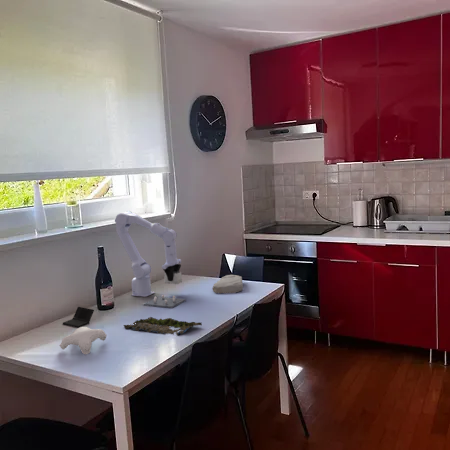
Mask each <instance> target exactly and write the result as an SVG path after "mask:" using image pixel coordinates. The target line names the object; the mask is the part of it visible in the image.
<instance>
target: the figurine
mask: <svg viewBox="0 0 450 450" xmlns="http://www.w3.org/2000/svg"><path fill="white" fill-rule="evenodd" d="M98 339H99V340H101V341H103V342H104V341H105V340H106V339H107V334H106V333H105V331H104V330H103V329H101V328H99V329H96V328H94V329H93V328H90V327H87V326H82V327H79V328H76V329H75V330H74V331H73V332H72V333H70V334H69V335H66V336H64V337H63V338H62V340H61V342H60V343H59V347H60V349H61V350H65V349H67V347H69V346H71V345H74V346H78V347H79V349H80V351H81V352H82V354H84V355H85V356H86V355H89V354H90V353H91V349H92V345H93V342H95V341H96V340H98Z"/></svg>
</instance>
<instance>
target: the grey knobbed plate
mask: <svg viewBox="0 0 450 450" xmlns="http://www.w3.org/2000/svg"><path fill="white" fill-rule="evenodd" d="M186 300H187V299H185V298H176V295H172V297H165V294H162V295H161V296H158V297H157V296H156V295H155V296H154V297H153V299H151V300H149V301H147V302H144V303H143V306H145V307H147V306H148V307H154V308H155V307H156V308H164V309H173V308H175V307H177V306H179V305H181V304H182V303H185V302H187V301H186ZM184 301H185V302H184Z"/></svg>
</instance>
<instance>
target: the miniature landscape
mask: <svg viewBox="0 0 450 450" xmlns="http://www.w3.org/2000/svg"><path fill="white" fill-rule="evenodd" d="M132 323H133V324H134V325H133V324H130V325H129V324H123V327H124V328H125V330H128V329H131V330H133V331H136V332H137V331H138V332H139V331H141V330H143V332H144V333H146V332H147V333H151V332H153V333H155V332H156V334H163V335H169V334H170V335H172V336H174V335H176V337H177V336H179V334H180V335H182V334H184V333H185V332H187V330H190V329H191V328H192V327H195V326H197V327H198V326H200V327H201V326H202V323H203V322H196V321H191V322H188V321H184V320H181V321H179V320H176V319H173V318H172V317H169V318H168V317H167V318H165V319H164V318H163V319H162V318H159V319H158V318H155V317H152V316H150V317H147V318H145V319H142V318H140V319H137V320H135V321H134V322H132ZM135 323H136V324H135ZM173 327H174V329H171V328H173Z"/></svg>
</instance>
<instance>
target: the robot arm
mask: <svg viewBox="0 0 450 450" xmlns="http://www.w3.org/2000/svg"><path fill="white" fill-rule="evenodd" d="M114 223H115V229H116V230H115V231H116V234H117V237H118V238H119V240H120V242H121V244H122V245H123V248H124V249H125V251H126V253H127V255H128V257H129V259H130V261H131V269H132V273H133V276H134V277H133V278H132V279H131V292H132V294H131V296H134V297H145V298H146V297H148V296H150V295H153V294H155V293H156V292H155V291H152V286H151V285H152V283H151V275H150V274H151V273H152V267H151V265H150V264H149V263H147V261H146V259H144V258H142V255H141V254H140V252H139V249H138V248H137V246H136V244H135V242H134V240H133V238H132V237H131V234H130V233H129V229H130V227H131V225H133V224H137V225H138V226H141V227H143V228H146V229H148V230H149V232H150V233H151V234H153V235H154V236H157V237H158V238H160V239H161V240H162V241H163V243H164V254H165V263H164V264H161V270H163V271H164V272H165V273H166V275H167V278H168V281H173V271H178V272H180V269H181V267H182V265H181V264H182V259H181V258H178V253H177V251H178V250H177V244H176V239H177V237H178V234H177V231H176V230H174V229H173V228H169V227H167V226H166V227H165V226H163V225H161V223H160V222H154V223H152V222H150V221H148V220H147V219H145V218H144V217H142V216H140V215H139V214H137V213H136V212H132V211H130V210H127V211H124V212H119V213H118V214H117V215H116V216H115V219H114Z"/></svg>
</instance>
